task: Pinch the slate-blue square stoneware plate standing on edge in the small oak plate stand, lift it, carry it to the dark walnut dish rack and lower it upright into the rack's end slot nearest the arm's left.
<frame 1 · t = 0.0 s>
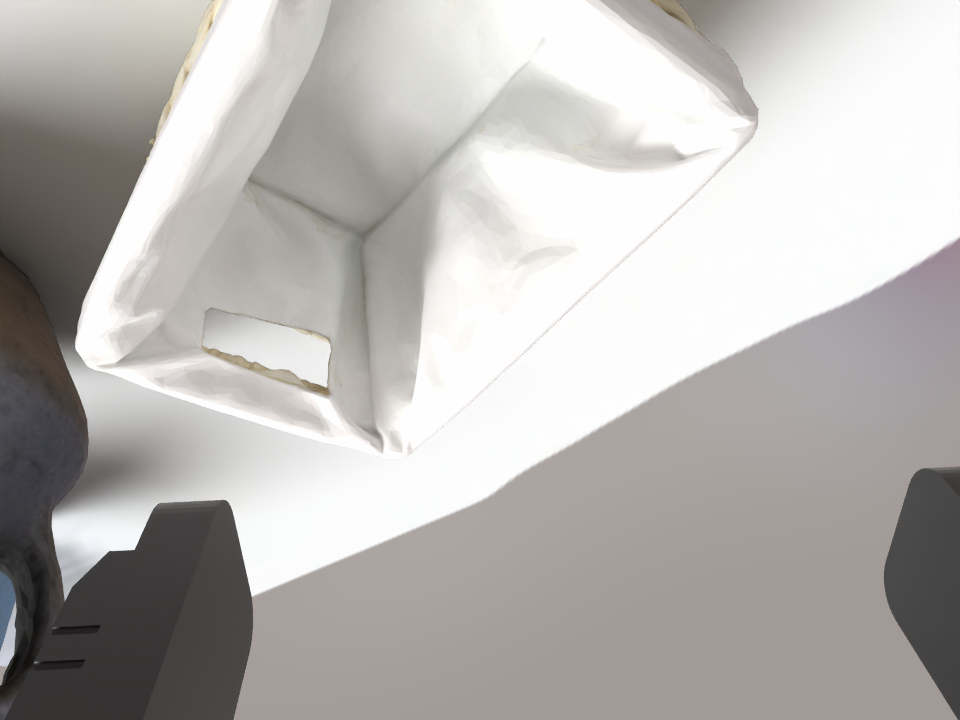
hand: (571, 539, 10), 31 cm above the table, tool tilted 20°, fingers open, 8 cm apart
storage basket: (385, 41, 39), on the table
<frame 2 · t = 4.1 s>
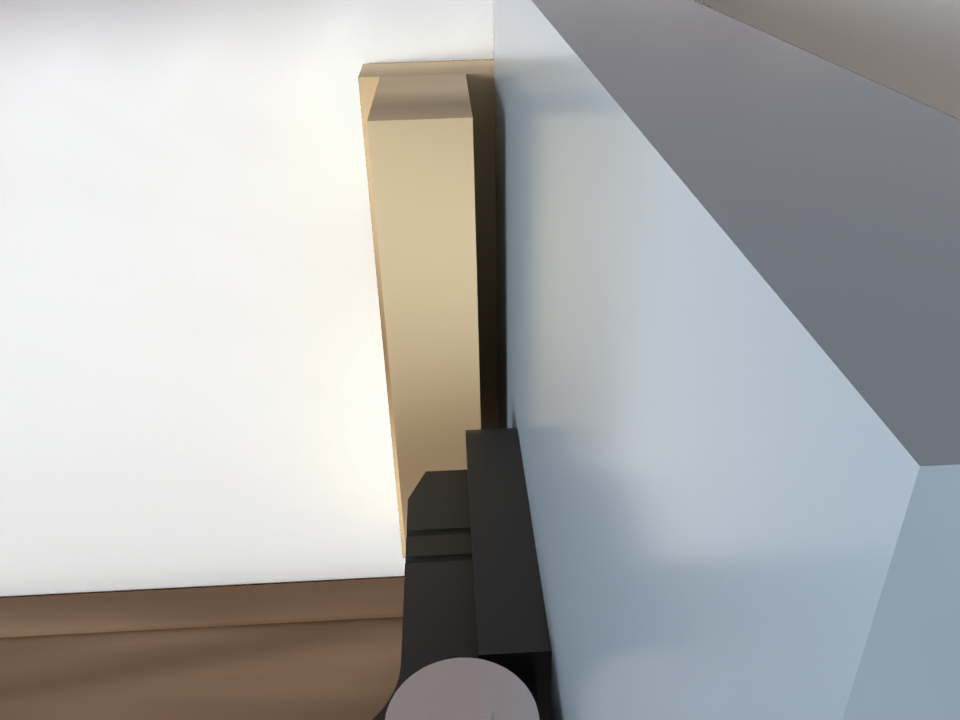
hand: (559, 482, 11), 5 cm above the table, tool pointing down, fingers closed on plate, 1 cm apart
plate: (533, 350, 14), point 1 cm above the table, touching gripper, plate stand
plate stand: (527, 323, 15), on the table
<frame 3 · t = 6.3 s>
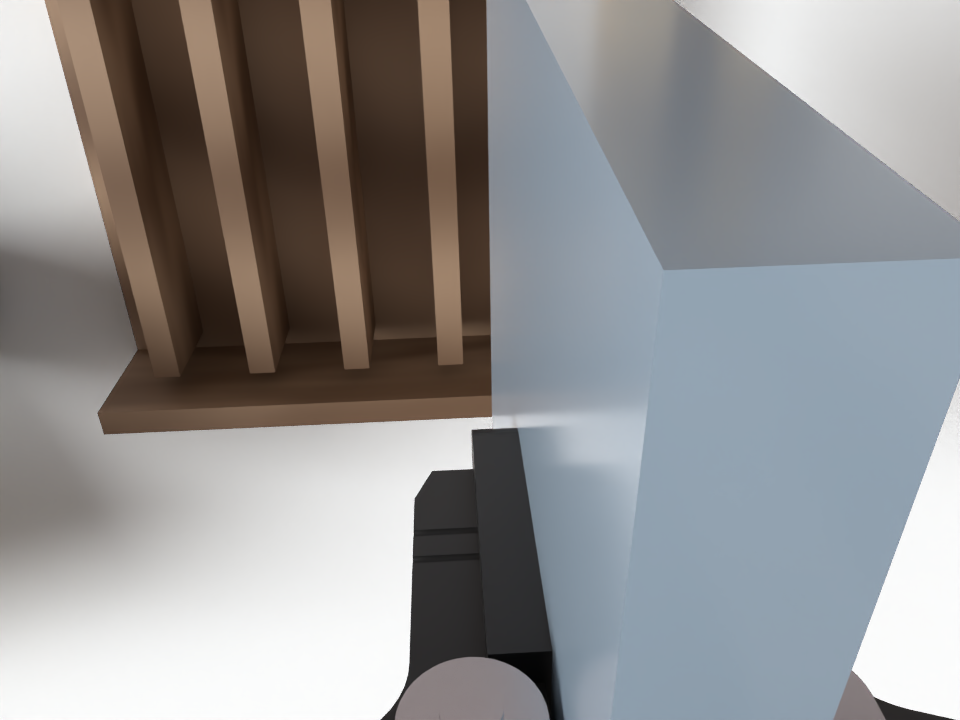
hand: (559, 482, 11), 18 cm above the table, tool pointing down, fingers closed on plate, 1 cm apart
plate: (522, 283, 15), point 13 cm above the table, touching gripper
rack: (347, 132, 27), on the table
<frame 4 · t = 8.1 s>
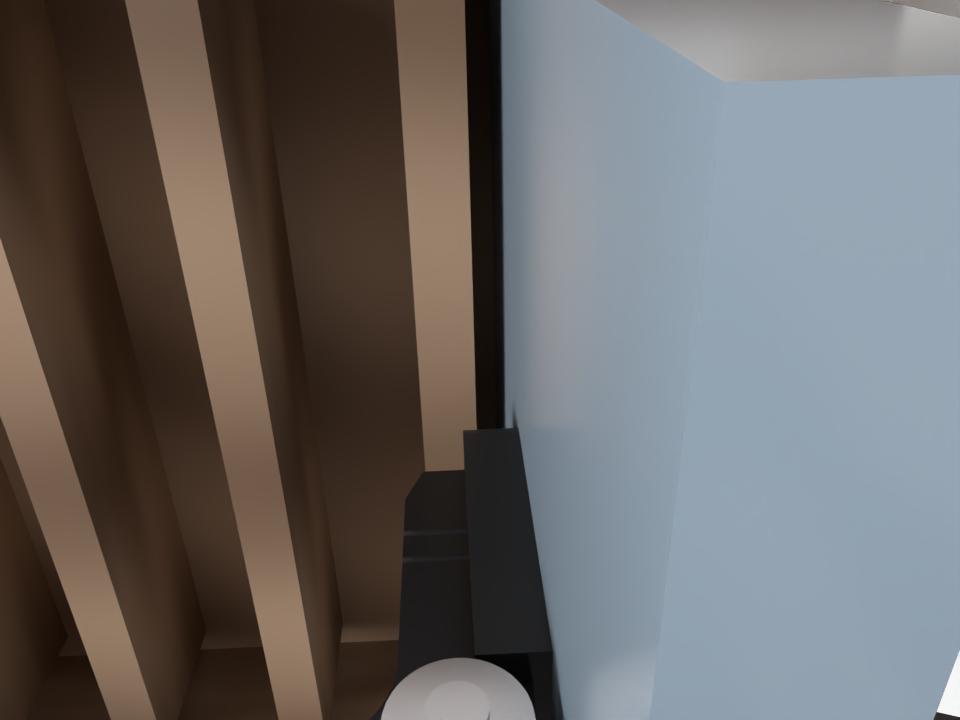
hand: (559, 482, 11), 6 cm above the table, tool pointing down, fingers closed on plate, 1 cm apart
plate: (527, 310, 15), point 1 cm above the table, touching gripper, rack
rack: (292, 343, 16), on the table
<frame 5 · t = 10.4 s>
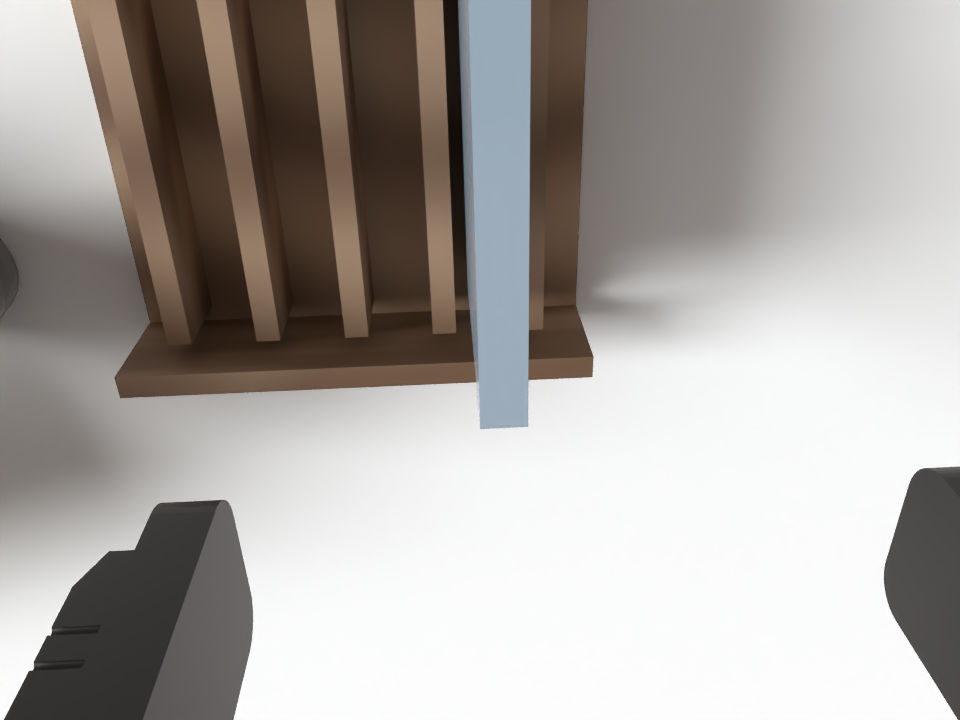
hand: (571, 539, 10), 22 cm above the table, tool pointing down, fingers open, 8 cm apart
plate: (477, 89, 27), point 1 cm above the table, touching rack
rack: (348, 116, 28), on the table
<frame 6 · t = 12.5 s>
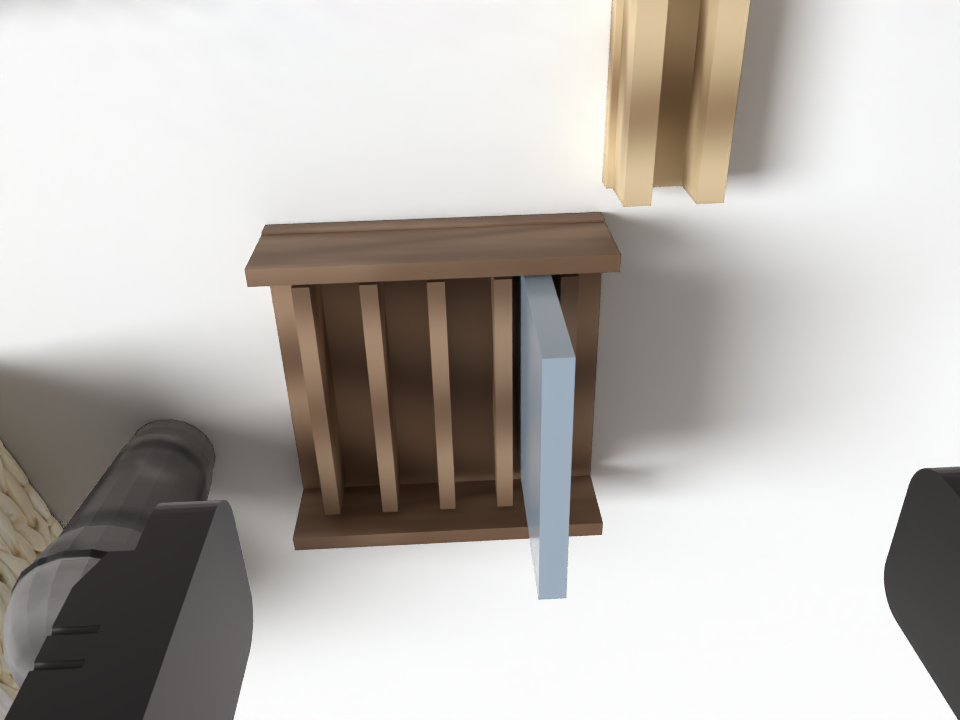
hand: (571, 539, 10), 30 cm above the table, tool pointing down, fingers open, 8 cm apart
plate: (528, 352, 42), point 1 cm above the table, touching rack
beverage cup: (174, 451, 46), on the table
rack: (441, 363, 43), on the table
plate stand: (663, 81, 37), on the table
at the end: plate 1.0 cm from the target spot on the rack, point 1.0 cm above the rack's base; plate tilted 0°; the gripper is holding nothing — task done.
